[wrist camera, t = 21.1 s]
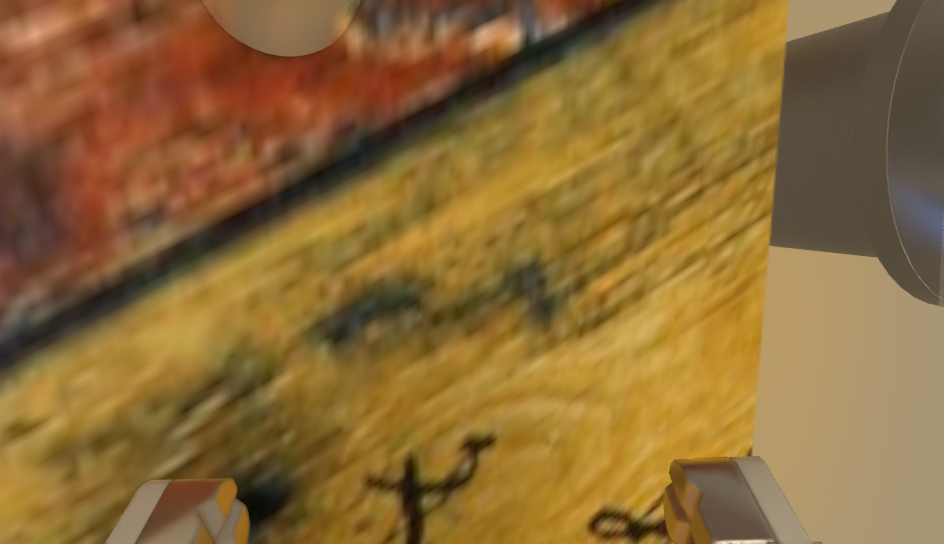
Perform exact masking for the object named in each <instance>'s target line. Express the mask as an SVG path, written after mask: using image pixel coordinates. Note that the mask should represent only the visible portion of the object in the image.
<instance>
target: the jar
mask: <svg viewBox="0 0 944 544" xmlns="http://www.w3.org/2000/svg"><path fill="white" fill-rule="evenodd" d="M201 1H202V3H203V5H204V6H205V8H206V9H207V10H208V12H209V13H210V15H211V16H212V17H213V18H214V19H215V21H216V22H217V23H218V24H219V25H220V26H221V27H222V28H223V29H224V30H225V31H226V32H228V33H229V34H230V35H231V36H233V37H234V38H236V39H237V40H238V41H240V42H242V43H243V44H245V45H247V46H249V47H251V48H253V49H256V50H258V51H261V52H264V53H268V54H271V55H277V56H289V57H294V56H304V55H308V54H312V53H315V52H317V51H320V50H322V49H324V48H326V47H328V46H329V45H331V44H332V43H334V42H335V41H336V40H337V39H339V37H340V36H341V35H342V34H343V33H344V32H345V31H346V29H347V28H348V27H349V25H350V24H351V22H352V20H353V18H354V16H355V13H356V11H357V9H358V6H359V4H360V2H361V0H201Z"/></svg>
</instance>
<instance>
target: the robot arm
mask: <svg viewBox="0 0 944 544" xmlns="http://www.w3.org/2000/svg"><path fill="white" fill-rule="evenodd" d="M669 474H670V477H671V480H672V483H671V484H670V485H668V486H667V487H666V488H665V492H664V498H663V505H664V517H665V521H666V525H667V529H668V532H669V535H670V538H671V541H672V542H673V543H674V544H823V543H821V542H811V540H810V538H809V536H808V535H807V533H806V531H805V530H804V528H803V526H802V525H801V523H800V521H799V519H798V518H797V516H796V514H795V513H794V511H793V509H792V507H791V506H790V504H789V502H788V500H787V499H786V497H785V495H784V494H783V492H782V490H781V488H780V487H779V485H778V483H777V482H776V480H775V478H774V477H773V475H772V473H771V471H770V470H769V468H768V466H767V465H766V463H765V461H764V460H762V459H761V458H760V457H758V456H747V457H730V458H728V457H713V458H695V459H677V460H674V461H673V462H672V463H671V465H670V469H669ZM237 491H238V488H237V486H236V484H235V482H234V481H233V479H232V478H227V479H169V480H147V481H146V482H145V483H144V484H143V485H142V486H140V487H139V488H138V490H137V491H136V493H135V495H134V496H133V498H132V500H131V501H130V503H129V504H128V506H127V508H126V509H125V511H124V513H123V514H122V516H121V518H120V519H119V521H118V523H117V524H116V526H115V528H114V529H113V531H112V533H111V534H110V536H109V537H108V539H107V541H106V542H105V544H247V541H248V535H249V527H250V521H249V513H248V511H247V508H246V506H245V504H243V503H242V502H240V501H239V500H237V499H236V498H235V496H236V494H237Z"/></svg>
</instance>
